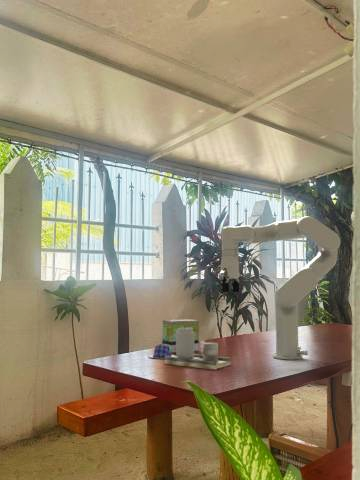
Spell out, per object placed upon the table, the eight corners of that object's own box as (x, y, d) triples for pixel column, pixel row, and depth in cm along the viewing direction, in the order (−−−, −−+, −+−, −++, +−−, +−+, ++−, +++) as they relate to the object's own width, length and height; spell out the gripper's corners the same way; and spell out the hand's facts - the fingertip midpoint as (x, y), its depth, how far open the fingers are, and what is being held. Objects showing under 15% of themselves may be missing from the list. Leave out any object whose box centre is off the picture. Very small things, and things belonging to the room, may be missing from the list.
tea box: (172, 353, 206) (172, 321, 207) (161, 350, 214) (161, 319, 216) (199, 351, 214) (199, 319, 215) (187, 348, 222) (187, 318, 224)
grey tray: (230, 364, 176) (230, 342, 176) (214, 369, 165) (214, 346, 166) (182, 359, 188) (182, 339, 189) (164, 363, 178) (164, 341, 179)
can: (175, 356, 184) (175, 327, 185) (193, 356, 185) (193, 327, 186) (176, 359, 176) (176, 329, 178) (195, 359, 177) (195, 328, 178)
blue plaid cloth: (180, 356, 198) (180, 344, 199) (169, 360, 187) (169, 348, 188) (155, 355, 203) (156, 343, 203) (143, 359, 192) (143, 346, 192)
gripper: (231, 255, 211) (232, 291, 209) (213, 253, 197) (213, 292, 195) (246, 254, 207) (246, 291, 205) (228, 252, 193) (229, 292, 191)
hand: (230, 291), depth 200 cm, fingers open, 9 cm apart
